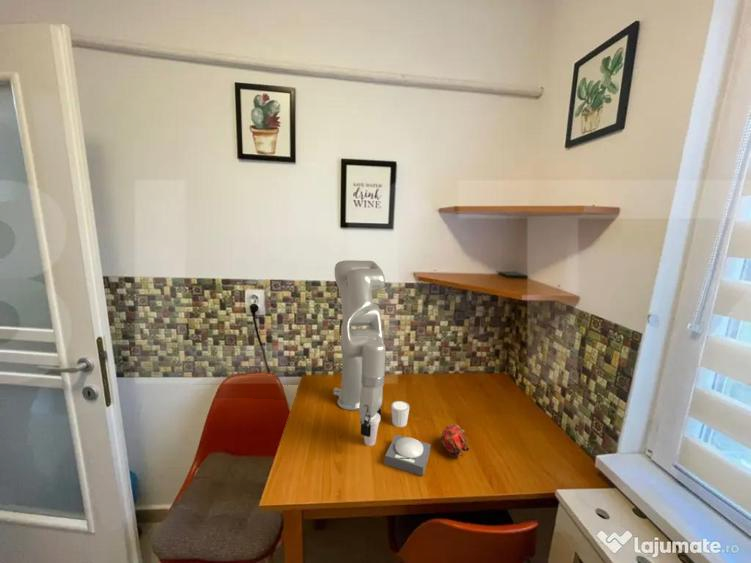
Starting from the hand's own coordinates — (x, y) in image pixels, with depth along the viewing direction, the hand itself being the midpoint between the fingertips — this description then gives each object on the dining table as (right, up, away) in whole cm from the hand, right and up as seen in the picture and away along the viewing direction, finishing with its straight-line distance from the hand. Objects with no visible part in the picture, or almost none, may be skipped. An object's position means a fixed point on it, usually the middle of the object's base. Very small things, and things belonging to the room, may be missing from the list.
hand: (371, 427), depth 105 cm
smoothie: (0, -6, +2) cm, 6 cm away
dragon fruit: (+28, -8, -1) cm, 29 cm away
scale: (+12, -8, -5) cm, 15 cm away
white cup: (+11, -5, +13) cm, 18 cm away
